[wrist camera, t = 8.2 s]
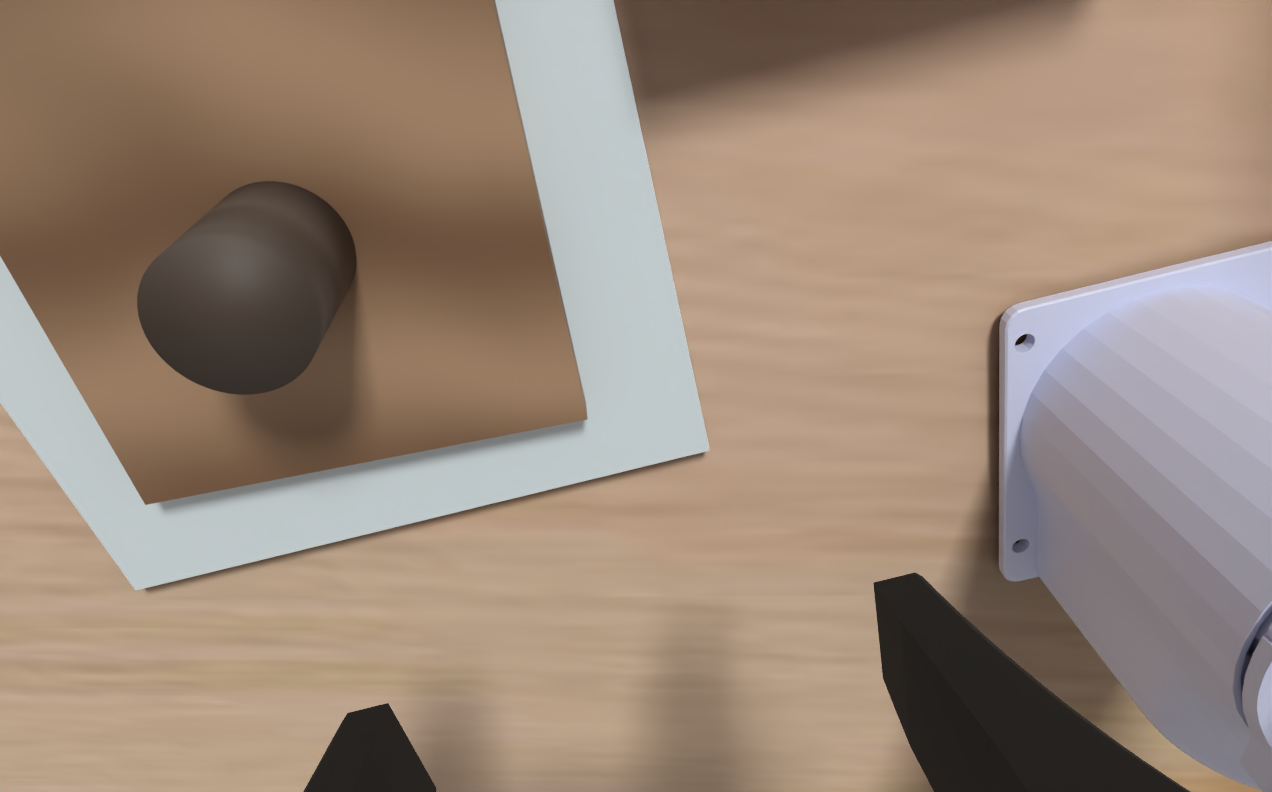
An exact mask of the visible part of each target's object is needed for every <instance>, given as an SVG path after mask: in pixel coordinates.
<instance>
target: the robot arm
mask: <svg viewBox="0 0 1272 792" xmlns="http://www.w3.org/2000/svg"><path fill="white" fill-rule="evenodd" d="M1024 334H1027V337H1026V339H1025V340H1024V342H1023V343H1021V344H1019V345H1015V343H1016V340H1017V339H1018V338H1019V337H1020V336H1022V335H1024ZM1020 539H1021V540H1020ZM1018 540H1020V541H1019V542H1018V543H1016V544H1014V543H1015V542H1016V541H1018ZM999 569H1000V571H1001V573H1002V574H1003V576H1004V577H1005V578H1006V579H1007V580H1009V581H1012V582H1015V581H1023V580H1027V579H1031V578H1035V577H1039V578H1040V579H1041V580H1042V582H1043V583H1044V584H1045V586H1046V587H1047V588H1048V589H1049V591H1050V592H1051V593H1052V595H1053V596H1054V597H1055V599H1056V600H1057V601H1058V603H1059V604H1060V605H1061V606H1062V608H1063V609H1064V610H1065V612H1066V613H1067V614H1068V616H1069V617H1070V618H1071V620H1072V621H1073V622H1074V624H1075V625H1076V626H1077V627H1078V629H1079V630H1080V631H1081V633H1082V634H1083V635H1084V637H1085V638H1086V639H1087V641H1088V642H1089V643H1090V644H1091V646H1092V647H1093V648H1094V650H1095V651H1096V652H1097V654H1098V655H1099V656H1100V658H1101V659H1102V660H1103V662H1104V663H1105V664H1106V665H1107V667H1108V668H1109V669H1110V671H1111V672H1112V673H1113V675H1114V676H1115V677H1116V679H1117V680H1118V681H1119V683H1120V684H1121V685H1122V686H1123V688H1124V689H1125V690H1126V692H1127V693H1128V694H1129V696H1130V697H1131V698H1132V700H1133V701H1134V702H1135V703H1136V705H1137V706H1138V707H1139V709H1140V710H1141V711H1142V713H1143V714H1144V715H1145V717H1146V718H1147V719H1148V720H1149V721H1150V722H1151V723H1152V725H1153V726H1154V727H1155V728H1156V729H1157V730H1158V731H1159V732H1160V733H1161V734H1162V735H1163V736H1164V737H1165V738H1166V739H1168V740H1169V741H1170V742H1171V743H1172V744H1174V745H1175V746H1176V747H1177V748H1179V749H1180V750H1181V751H1183V752H1184V753H1186V754H1187V755H1189V756H1190V757H1192V758H1193V759H1195V760H1196V761H1198V762H1200V763H1202V764H1203V765H1205V766H1207V767H1208V768H1210V769H1212V770H1214V771H1216V772H1218V773H1220V774H1222V775H1224V776H1226V777H1228V778H1230V779H1233V780H1235V781H1237V782H1240V783H1242V784H1245V785H1248V786H1251V787H1254V788H1258V789H1261V790H1262V791H1263V792H1272V241H1269V242H1265V243H1261V244H1257V245H1253V246H1249V247H1245V248H1241V249H1237V250H1233V251H1229V252H1225V253H1221V254H1217V255H1212V256H1208V257H1204V258H1200V259H1196V260H1192V261H1188V262H1184V263H1180V264H1176V265H1172V266H1168V267H1164V268H1160V269H1156V270H1151V271H1147V272H1143V273H1139V274H1135V275H1131V276H1127V277H1123V278H1119V279H1115V280H1111V281H1107V282H1103V283H1099V284H1094V285H1090V286H1086V287H1082V288H1078V289H1074V290H1070V291H1066V292H1062V293H1058V294H1054V295H1050V296H1046V297H1042V298H1038V299H1033V300H1029V301H1025V302H1021V303H1018V304H1015V305H1013V306H1011V307H1010V308H1009V309H1008V310H1006V311H1005V313H1004V314H1003V316H1002V317H1001V320H1000V325H999ZM874 592H875V602H876V612H877V622H878V632H879V642H880V652H881V662H882V672H883V679H884V682H885V684H886V687H887V689H888V692H889V694H890V697H891V699H892V702H893V704H894V707H895V710H896V712H897V715H898V717H899V719H900V722H901V724H902V727H903V729H904V732H905V734H906V737H907V739H908V741H909V744H910V746H911V748H912V750H913V752H914V754H915V756H916V758H917V760H918V762H919V764H920V766H921V767H922V769H923V771H924V773H925V775H926V777H927V779H928V781H929V783H930V785H931V786H932V788H933V790H934V792H1190V791H1188V790H1187V789H1185V788H1184V787H1182V786H1181V785H1179V784H1178V783H1176V782H1175V781H1173V780H1172V779H1170V778H1169V777H1167V776H1166V775H1164V774H1163V773H1161V772H1160V771H1158V770H1157V769H1155V768H1154V767H1152V766H1151V765H1149V764H1148V763H1146V762H1145V761H1143V760H1142V759H1140V758H1139V757H1137V756H1136V755H1135V754H1133V753H1132V752H1130V751H1129V750H1127V749H1126V748H1125V747H1123V746H1122V745H1120V744H1119V743H1118V742H1116V741H1115V740H1114V739H1112V738H1111V737H1109V736H1108V735H1107V734H1105V733H1104V732H1102V731H1101V730H1100V729H1099V728H1097V727H1096V726H1095V725H1093V724H1092V723H1091V722H1089V721H1088V720H1087V719H1085V718H1084V717H1083V716H1081V715H1080V714H1079V713H1077V712H1076V711H1075V710H1073V709H1072V708H1071V707H1069V706H1068V705H1067V704H1066V703H1064V702H1063V701H1062V700H1061V699H1059V698H1058V697H1057V696H1055V695H1054V694H1053V693H1052V692H1050V691H1049V690H1048V689H1047V688H1045V687H1044V686H1043V685H1042V684H1041V683H1039V682H1038V681H1037V680H1036V679H1035V678H1033V677H1032V676H1031V675H1030V674H1029V673H1027V672H1026V671H1025V670H1024V669H1023V668H1021V667H1020V666H1019V665H1018V664H1017V663H1015V662H1014V661H1013V660H1012V659H1011V658H1009V657H1008V656H1007V655H1006V654H1005V653H1004V652H1002V651H1001V650H1000V649H999V648H998V647H997V646H996V645H994V644H993V643H992V642H991V641H990V640H989V639H988V638H987V637H985V636H984V635H983V634H982V633H981V632H980V631H979V630H978V629H977V628H975V627H974V626H973V625H972V624H971V623H970V622H969V621H968V620H967V619H966V618H965V617H963V616H962V615H961V614H960V613H959V612H958V611H957V610H956V609H955V608H954V607H953V606H952V605H951V604H950V603H949V602H948V601H947V600H946V599H945V598H944V597H943V596H941V595H940V594H939V593H938V592H937V591H936V590H935V589H934V588H933V587H932V586H931V585H930V584H929V583H928V582H927V581H926V580H925V579H924V578H923V577H922V576H920V575H919V574H917V573H911V574H907V575H903V576H899V577H895V578H891V579H887V580H883V581H879V582H875V583H874ZM304 792H436V787H435V785H434V783H433V782H432V780H431V778H430V776H429V774H428V773H427V771H426V769H425V767H424V766H423V764H422V762H421V760H420V759H419V757H418V755H417V753H416V752H415V750H414V748H413V746H412V744H411V743H410V741H409V739H408V737H407V736H406V734H405V732H404V730H403V729H402V727H401V725H400V723H399V721H398V720H397V718H396V716H395V714H394V713H393V711H392V709H391V707H390V706H389V704H388V703H387V704H383V705H379V706H375V707H371V708H367V709H363V710H359V711H355V712H350V713H347V715H346V717H345V718H344V720H343V721H342V723H341V725H340V727H339V728H338V730H337V732H336V734H335V736H334V737H333V739H332V741H331V743H330V745H329V746H328V748H327V750H326V752H325V754H324V755H323V757H322V759H321V761H320V763H319V765H318V766H317V768H316V770H315V772H314V774H313V775H312V777H311V779H310V781H309V783H308V785H307V786H306V788H305V790H304Z"/></svg>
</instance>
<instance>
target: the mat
mask: <svg viewBox="0 0 1272 792" xmlns="http://www.w3.org/2000/svg"><path fill="white" fill-rule="evenodd" d="M495 2H496V6H497V11H498V15H499V20H500V24H501V29H502V33H503V38H504V42H505V46H506V51H507V55H508V60H509V64H510V69H511V73H512V77H513V82H514V86H515V91H516V95H517V100H518V104H519V108H520V113H521V117H522V122H523V126H524V131H525V135H526V139H527V144H528V148H529V153H530V157H531V162H532V166H533V170H534V175H535V179H536V184H537V188H538V193H539V197H540V201H541V206H542V210H543V215H544V219H545V224H546V228H547V232H548V237H549V241H550V246H551V250H552V255H553V259H554V264H555V268H556V272H557V277H558V281H559V286H560V290H561V295H562V299H563V303H564V308H565V312H566V317H567V321H568V326H569V330H570V334H571V339H572V343H573V348H574V352H575V357H576V361H577V365H578V370H579V374H580V379H581V383H582V388H583V392H584V396H585V401H586V408H587V418H588V419H587V420H582V421H577V422H572V423H567V424H561V425H556V426H551V427H546V428H541V429H536V430H530V431H525V432H520V433H515V434H510V435H505V436H499V437H494V438H489V439H484V440H479V441H474V442H468V443H463V444H458V445H453V446H448V447H443V448H437V449H432V450H427V451H422V452H417V453H412V454H406V455H401V456H396V457H391V458H386V459H381V460H375V461H370V462H365V463H360V464H355V465H350V466H344V467H339V468H334V469H329V470H324V471H319V472H313V473H308V474H303V475H298V476H293V477H288V478H282V479H277V480H272V481H267V482H262V483H257V484H251V485H246V486H241V487H236V488H231V489H226V490H220V491H215V492H210V493H205V494H200V495H195V496H189V497H184V498H179V499H174V500H169V501H163V502H158V503H153V504H148V505H145V504H144V502H143V500H142V498H141V497H140V495H139V493H138V491H137V490H136V488H135V486H134V485H133V483H132V481H131V479H130V478H129V476H128V474H127V473H126V471H125V469H124V467H123V466H122V464H121V462H120V461H119V459H118V457H117V455H116V454H115V452H114V450H113V449H112V447H111V445H110V443H109V442H108V440H107V438H106V437H105V435H104V433H103V431H102V430H101V428H100V426H99V425H98V423H97V421H96V419H95V418H94V416H93V414H92V413H91V411H90V409H89V407H88V406H87V404H86V402H85V401H84V399H83V397H82V395H81V394H80V392H79V390H78V389H77V387H76V385H75V383H74V382H73V380H72V378H71V377H70V375H69V373H68V371H67V370H66V368H65V366H64V365H63V363H62V361H61V359H60V358H59V356H58V354H57V353H56V351H55V349H54V347H53V346H52V344H51V342H50V341H49V339H48V337H47V335H46V334H45V332H44V330H43V329H42V327H41V325H40V323H39V322H38V320H37V318H36V317H35V315H34V313H33V311H32V310H31V308H30V306H29V305H28V303H27V301H26V299H25V298H24V296H23V294H22V293H21V291H20V289H19V287H18V286H17V284H16V282H15V281H14V279H13V277H12V275H11V274H10V272H9V270H8V268H7V267H6V265H5V263H4V262H3V260H2V258H1V256H0V403H1V404H2V406H3V407H4V409H5V410H6V411H7V413H8V414H9V416H10V417H11V418H12V420H13V421H14V422H15V424H16V425H17V427H18V428H19V429H20V431H21V432H22V434H23V435H24V436H25V438H26V439H27V440H28V442H29V443H30V445H31V446H32V447H33V449H34V450H35V452H36V453H37V454H38V456H39V457H40V458H41V460H42V461H43V463H44V464H45V465H46V467H47V468H48V470H49V471H50V472H51V474H52V475H53V477H54V478H55V479H56V481H57V482H58V483H59V485H60V486H61V488H62V489H63V490H64V492H65V493H66V495H67V496H68V497H69V499H70V500H71V501H72V503H73V504H74V506H75V507H76V508H77V510H78V511H79V513H80V514H81V515H82V517H83V518H84V520H85V521H86V522H87V524H88V525H89V526H90V528H91V529H92V531H93V532H94V533H95V535H96V536H97V538H98V539H99V540H100V542H101V543H102V544H103V546H104V547H105V549H106V550H107V551H108V553H109V554H110V556H111V557H112V558H113V560H114V561H115V563H116V564H117V565H118V567H119V568H120V569H121V571H122V572H123V574H124V575H125V576H126V578H127V579H128V581H129V582H130V583H131V585H132V586H133V587H134V589H135V590H140V589H144V588H148V587H152V586H156V585H161V584H165V583H169V582H173V581H177V580H181V579H185V578H189V577H193V576H197V575H202V574H206V573H210V572H214V571H218V570H222V569H226V568H230V567H234V566H238V565H243V564H247V563H251V562H255V561H259V560H263V559H267V558H271V557H275V556H279V555H284V554H288V553H292V552H296V551H300V550H304V549H308V548H312V547H316V546H320V545H325V544H329V543H333V542H337V541H341V540H345V539H349V538H353V537H357V536H361V535H366V534H370V533H374V532H378V531H382V530H386V529H390V528H394V527H398V526H403V525H407V524H411V523H415V522H419V521H423V520H427V519H431V518H435V517H439V516H444V515H448V514H452V513H456V512H460V511H464V510H468V509H472V508H476V507H480V506H485V505H489V504H493V503H497V502H501V501H505V500H509V499H513V498H517V497H521V496H526V495H530V494H534V493H538V492H542V491H546V490H550V489H554V488H558V487H562V486H567V485H571V484H575V483H579V482H583V481H587V480H591V479H595V478H599V477H603V476H608V475H612V474H616V473H620V472H624V471H628V470H632V469H636V468H640V467H644V466H649V465H653V464H657V463H661V462H665V461H669V460H673V459H677V458H681V457H685V456H690V455H694V454H698V453H702V452H706V451H710V448H709V444H708V439H707V434H706V430H705V425H704V420H703V416H702V411H701V406H700V402H699V397H698V392H697V388H696V383H695V378H694V374H693V369H692V364H691V360H690V355H689V350H688V346H687V341H686V336H685V332H684V327H683V322H682V318H681V313H680V308H679V304H678V299H677V294H676V290H675V285H674V280H673V276H672V271H671V266H670V262H669V257H668V252H667V248H666V243H665V238H664V234H663V229H662V224H661V220H660V215H659V210H658V206H657V201H656V196H655V192H654V187H653V182H652V178H651V173H650V168H649V164H648V159H647V154H646V150H645V145H644V140H643V136H642V131H641V126H640V122H639V117H638V113H637V108H636V103H635V99H634V94H633V89H632V85H631V80H630V75H629V71H628V66H627V61H626V57H625V52H624V47H623V43H622V38H621V33H620V29H619V24H618V19H617V15H616V10H615V5H614V1H613V0H495Z"/></svg>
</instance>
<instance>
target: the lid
mask: <svg viewBox="0 0 1272 792" xmlns="http://www.w3.org/2000/svg"><path fill="white" fill-rule="evenodd" d="M0 256H1V258H2V260H3V262H4V263H5V265H6V267H7V268H8V270H9V272H10V274H11V275H12V277H13V279H14V281H15V282H16V284H17V286H18V287H19V289H20V291H21V293H22V294H23V296H24V298H25V299H26V301H27V303H28V305H29V306H30V308H31V310H32V311H33V313H34V315H35V317H36V318H37V320H38V322H39V323H40V325H41V327H42V329H43V330H44V332H45V334H46V335H47V337H48V339H49V341H50V342H51V344H52V346H53V347H54V349H55V351H56V353H57V354H58V356H59V358H60V359H61V361H62V363H63V365H64V366H65V368H66V370H67V371H68V373H69V375H70V377H71V378H72V380H73V382H74V383H75V385H76V387H77V389H78V390H79V392H80V394H81V395H82V397H83V399H84V401H85V402H86V404H87V406H88V407H89V409H90V411H91V413H92V414H93V416H94V418H95V419H96V421H97V423H98V425H99V426H100V428H101V430H102V431H103V433H104V435H105V437H106V438H107V440H108V442H109V443H110V445H111V447H112V449H113V450H114V452H115V454H116V455H117V457H118V459H119V461H120V462H121V464H122V466H123V467H124V469H125V471H126V473H127V474H128V476H129V478H130V479H131V481H132V483H133V485H134V486H135V488H136V490H137V491H138V493H139V495H140V497H141V498H142V500H143V502H144V504H145V505H148V504H153V503H158V502H163V501H169V500H174V499H179V498H184V497H189V496H195V495H200V494H205V493H210V492H215V491H220V490H226V489H231V488H236V487H241V486H246V485H251V484H257V483H262V482H267V481H272V480H277V479H282V478H288V477H293V476H298V475H303V474H308V473H313V472H319V471H324V470H329V469H334V468H339V467H344V466H350V465H355V464H360V463H365V462H370V461H375V460H381V459H386V458H391V457H396V456H401V455H406V454H412V453H417V452H422V451H427V450H432V449H437V448H443V447H448V446H453V445H458V444H463V443H468V442H474V441H479V440H484V439H489V438H494V437H499V436H505V435H510V434H515V433H520V432H525V431H530V430H536V429H541V428H546V427H551V426H556V425H561V424H567V423H572V422H577V421H582V420H587V419H588V418H587V408H586V401H585V396H584V392H583V388H582V383H581V379H580V374H579V370H578V365H577V361H576V357H575V352H574V348H573V343H572V339H571V334H570V330H569V326H568V321H567V317H566V312H565V308H564V303H563V299H562V295H561V290H560V286H559V281H558V277H557V272H556V268H555V264H554V259H553V255H552V250H551V246H550V241H549V237H548V232H547V228H546V224H545V219H544V215H543V210H542V206H541V201H540V197H539V193H538V188H537V184H536V179H535V175H534V170H533V166H532V162H531V157H530V153H529V148H528V144H527V139H526V135H525V131H524V126H523V122H522V117H521V113H520V108H519V104H518V100H517V95H516V91H515V86H514V82H513V77H512V73H511V69H510V64H509V60H508V55H507V51H506V46H505V42H504V38H503V33H502V29H501V24H500V20H499V15H498V11H497V6H496V2H495V0H0Z"/></svg>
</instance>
